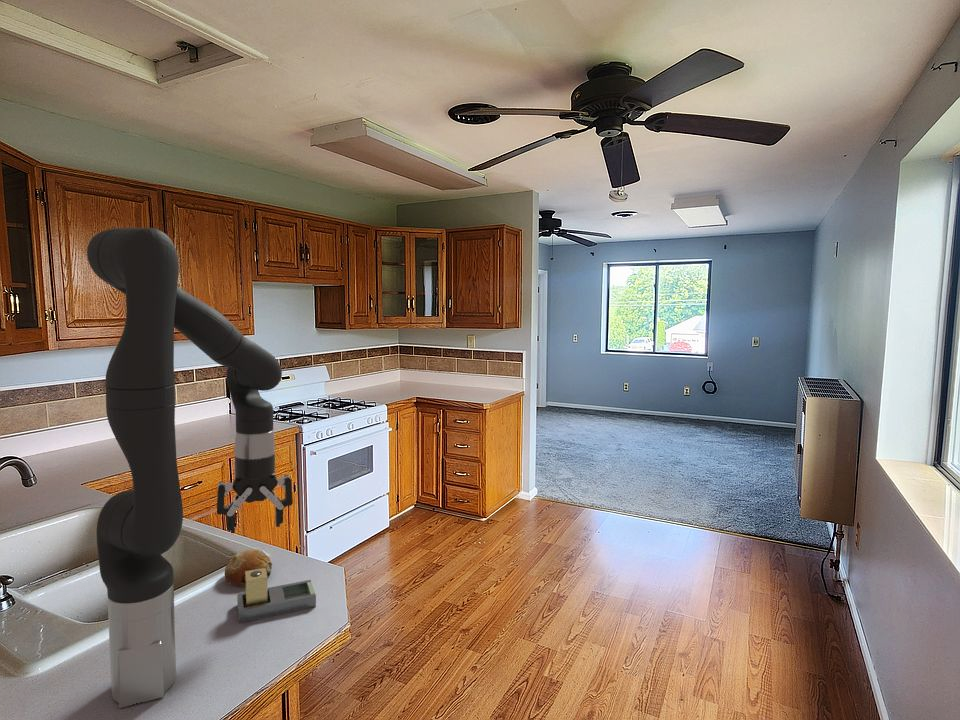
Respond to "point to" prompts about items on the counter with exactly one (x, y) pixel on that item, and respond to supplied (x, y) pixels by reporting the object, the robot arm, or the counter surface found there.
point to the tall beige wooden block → (256, 587)
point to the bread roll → (246, 565)
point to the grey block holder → (279, 601)
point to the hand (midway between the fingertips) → (255, 528)
